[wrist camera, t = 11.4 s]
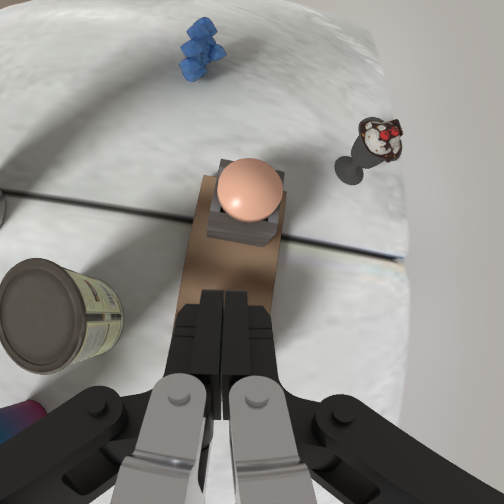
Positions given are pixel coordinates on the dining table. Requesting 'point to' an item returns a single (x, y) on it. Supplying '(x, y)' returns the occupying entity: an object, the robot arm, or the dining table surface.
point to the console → (230, 250)
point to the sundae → (370, 149)
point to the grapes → (200, 49)
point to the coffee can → (55, 316)
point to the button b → (249, 190)
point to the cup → (19, 418)
